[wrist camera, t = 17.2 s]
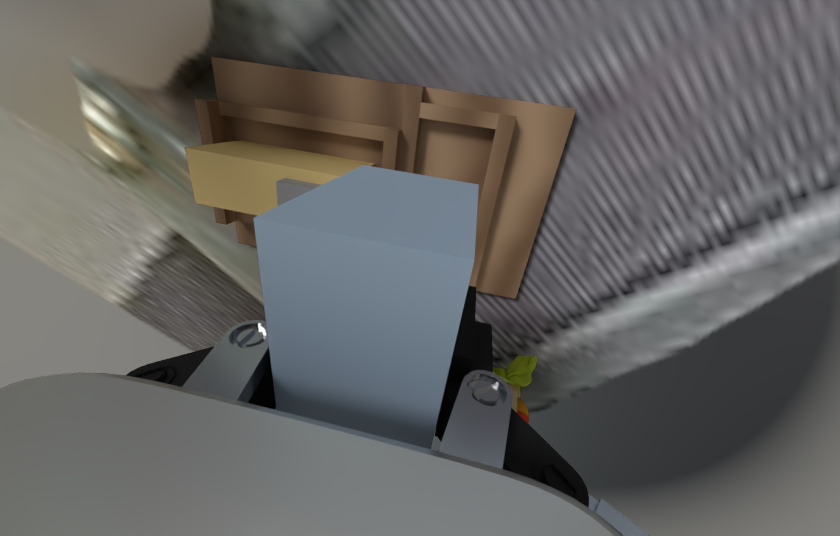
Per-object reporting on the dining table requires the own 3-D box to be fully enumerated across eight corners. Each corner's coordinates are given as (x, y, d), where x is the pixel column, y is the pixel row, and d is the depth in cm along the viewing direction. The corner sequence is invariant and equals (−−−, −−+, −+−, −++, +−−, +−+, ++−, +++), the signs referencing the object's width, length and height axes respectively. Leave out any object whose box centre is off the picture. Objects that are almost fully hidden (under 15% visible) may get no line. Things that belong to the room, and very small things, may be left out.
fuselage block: (247, 185, 30) (182, 207, 23) (241, 140, 28) (170, 149, 21) (372, 210, 28) (340, 239, 22) (375, 163, 27) (341, 181, 20)
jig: (243, 240, 33) (221, 252, 30) (218, 58, 26) (185, 52, 23) (514, 294, 31) (517, 313, 28) (573, 108, 23) (586, 108, 20)
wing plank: (354, 374, 16) (288, 510, 10) (363, 165, 11) (253, 217, 6) (434, 393, 15) (408, 544, 10) (478, 184, 11) (474, 260, 5)
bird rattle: (539, 373, 37) (533, 335, 30) (562, 489, 30) (560, 473, 23) (485, 377, 39) (468, 343, 32) (494, 488, 31) (475, 472, 25)
